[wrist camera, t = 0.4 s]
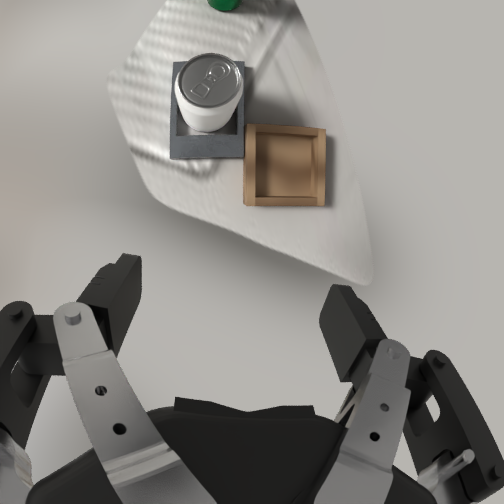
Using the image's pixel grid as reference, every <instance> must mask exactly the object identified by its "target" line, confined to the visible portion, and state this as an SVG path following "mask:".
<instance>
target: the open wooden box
mask: <svg viewBox="0 0 504 504" xmlns="http://www.w3.org/2000/svg"><path fill="white" fill-rule="evenodd" d="M325 167H326V129H319V128H310V127H299V126H287V125H272V124H249V123H247V124H246V125H245V127H244V163H243V204H245V205H246V206H324V203H325Z"/></svg>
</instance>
